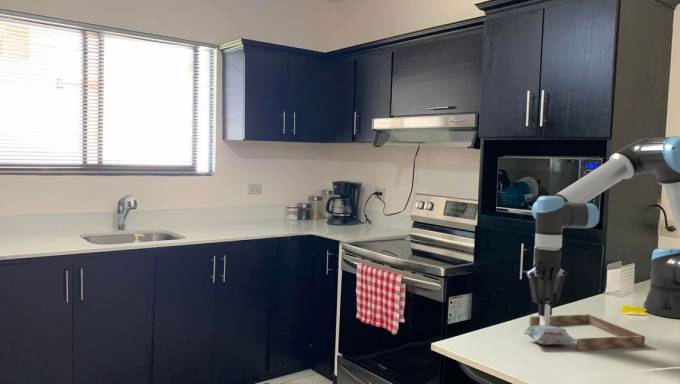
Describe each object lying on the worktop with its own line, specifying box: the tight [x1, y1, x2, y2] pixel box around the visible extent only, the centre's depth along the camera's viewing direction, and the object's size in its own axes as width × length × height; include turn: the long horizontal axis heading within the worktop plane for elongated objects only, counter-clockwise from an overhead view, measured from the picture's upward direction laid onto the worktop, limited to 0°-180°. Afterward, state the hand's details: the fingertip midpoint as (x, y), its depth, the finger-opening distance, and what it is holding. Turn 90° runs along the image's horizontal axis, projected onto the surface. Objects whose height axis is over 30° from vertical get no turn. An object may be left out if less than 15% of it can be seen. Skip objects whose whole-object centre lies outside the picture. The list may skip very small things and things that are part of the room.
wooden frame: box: [528, 313, 646, 351], centre depth 168 cm, size 22×24×3 cm
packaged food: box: [523, 325, 578, 346], centre depth 158 cm, size 9×12×5 cm
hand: (544, 326), depth 165 cm, fingers closed
